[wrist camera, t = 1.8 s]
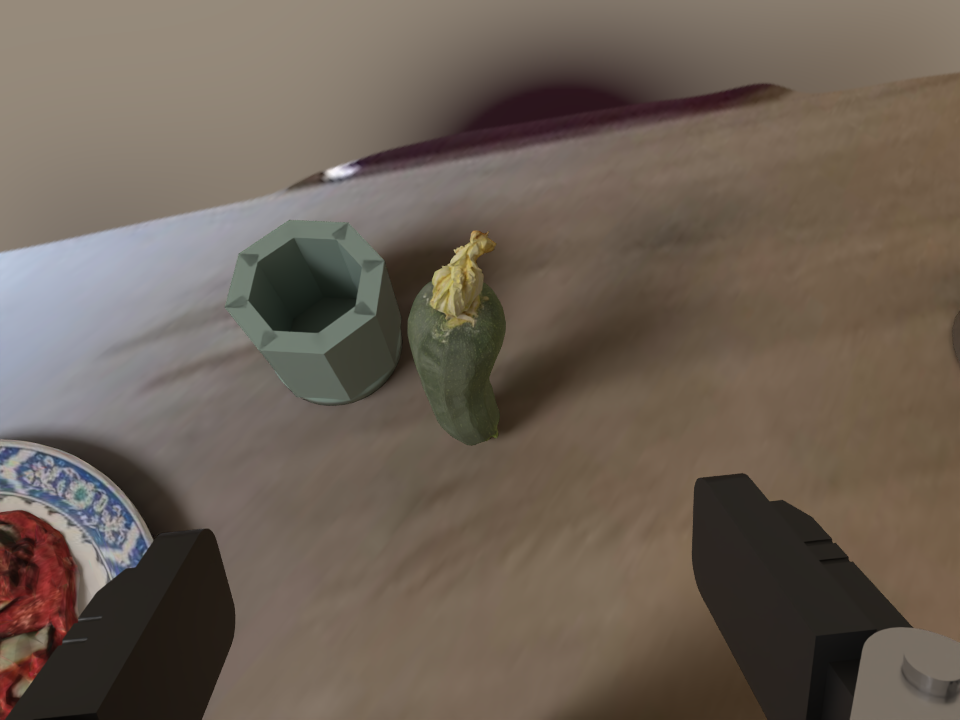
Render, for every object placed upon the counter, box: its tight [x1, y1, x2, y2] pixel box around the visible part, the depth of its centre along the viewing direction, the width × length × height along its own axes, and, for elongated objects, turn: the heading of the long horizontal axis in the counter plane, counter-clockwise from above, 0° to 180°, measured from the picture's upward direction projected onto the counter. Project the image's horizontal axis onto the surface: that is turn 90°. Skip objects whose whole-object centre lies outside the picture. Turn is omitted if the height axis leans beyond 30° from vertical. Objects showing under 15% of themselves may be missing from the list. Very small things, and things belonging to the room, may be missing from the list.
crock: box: [225, 220, 402, 406], centre depth 40 cm, size 9×9×8 cm
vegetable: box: [408, 231, 506, 446], centre depth 32 cm, size 4×4×20 cm
